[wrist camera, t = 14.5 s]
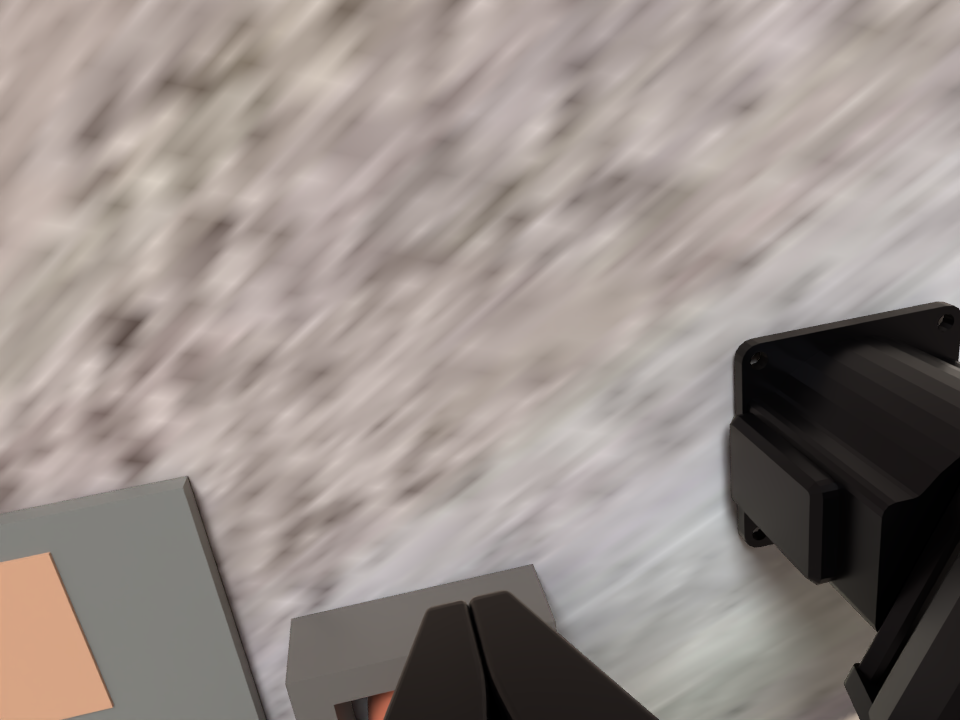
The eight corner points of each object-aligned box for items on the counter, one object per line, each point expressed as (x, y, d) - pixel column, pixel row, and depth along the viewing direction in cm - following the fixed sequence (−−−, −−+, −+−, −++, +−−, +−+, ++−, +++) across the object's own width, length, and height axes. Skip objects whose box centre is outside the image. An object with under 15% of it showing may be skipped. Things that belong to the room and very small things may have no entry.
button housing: (532, 564, 22) (554, 620, 20) (557, 741, 25) (579, 810, 22) (291, 618, 21) (285, 684, 19) (342, 796, 24) (343, 873, 22)
